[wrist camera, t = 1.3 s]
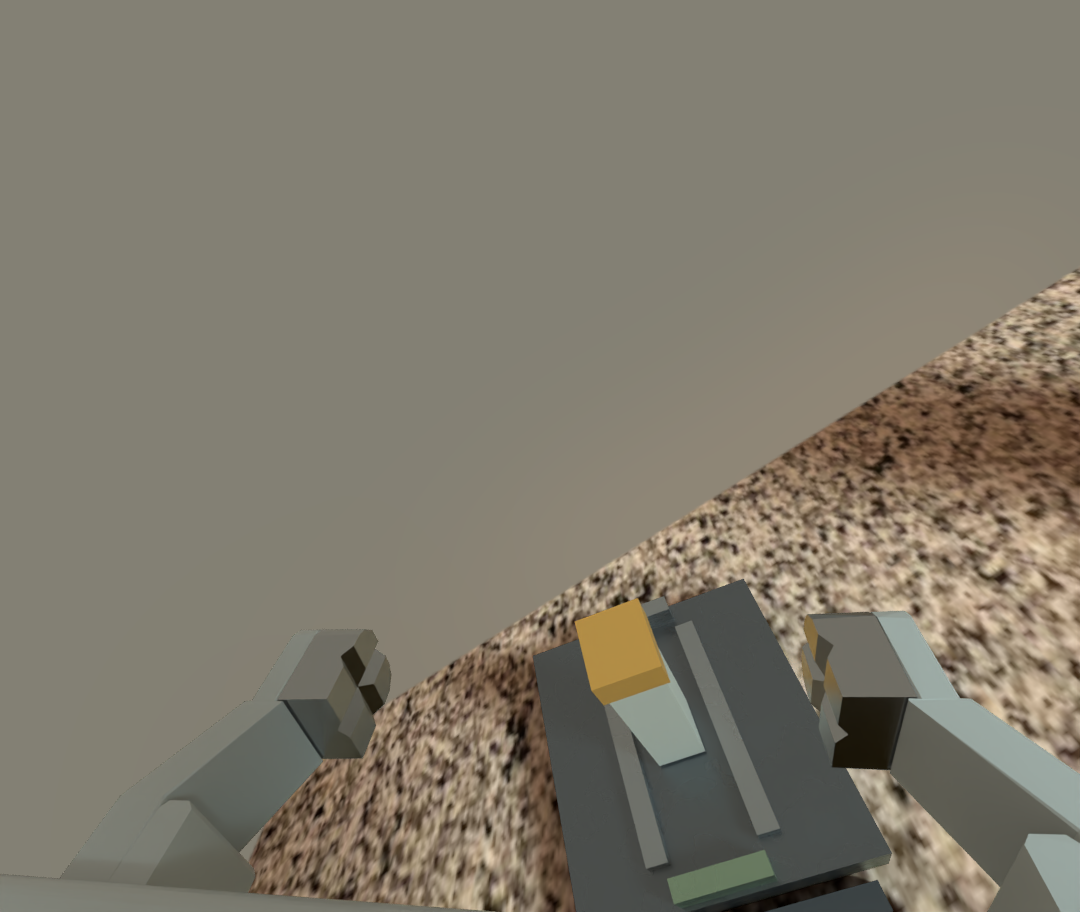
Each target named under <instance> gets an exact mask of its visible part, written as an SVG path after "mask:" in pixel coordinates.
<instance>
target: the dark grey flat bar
mask: <svg viewBox="0 0 1080 912" xmlns="http://www.w3.org/2000/svg"><path fill="white" fill-rule="evenodd" d="M766 912H893V910H892V908H891V906H890V904H889V902H888V900H887V898H886V896H885V894H884V892H883V890H882V888H881V886H880V884H879V882H878V880H876V881H872V882H869V883H865V884H861V885H858V886H854V887H851V888H847V889H844V890H840V891H837V892H833V893H830V894H826V895H823V896H819V897H815V898H812V899H808V900H805V901H801V902H798V903H794V904H791V905H787V906H784V907H780V908H776V909H773V910H769V911H766Z"/></svg>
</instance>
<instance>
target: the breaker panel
mask: <svg viewBox="0 0 1080 912" xmlns="http://www.w3.org/2000/svg"><path fill="white" fill-rule="evenodd" d="M641 606H642V608H643V610H644V612H645V613H646V615H647V618H648V621H649V623H650V626H651V629H652V632H653V635H654V637H655V640H656V643H657V646H658V648H659V650H660V651H661V653H662V655H663V657H664V659H665V661H666V663H667V665H668V666H669V668H670V670H671V672H672V674H673V676H674V678H675V680H676V681H677V683H678V685H679V687H680V689H681V691H682V693H683V695H684V696H685V698H686V700H687V703H688V706H689V708H690V711H691V714H692V716H693V719H694V722H695V725H696V727H697V730H698V733H699V735H700V738H701V741H702V743H703V746H704V749H705V751H704V752H701V753H698V754H695V755H692V756H689V757H686V758H683V759H680V760H677V761H674V762H671V763H668V764H665V765H662V766H659V765H658V764H657V762H656V761H655V760H654V758H653V757H652V756H651V755H650V753H649V752H648V751H647V750H646V748H645V747H644V746H643V745H642V743H641V742H640V741H639V740H638V738H637V737H636V736H635V735H634V733H633V732H632V731H631V730H630V728H629V727H628V726H627V725H626V723H625V722H624V721H623V720H622V718H621V717H620V716H619V715H618V713H617V712H616V711H615V710H614V708H613V707H612V706H611V705H610V703H609V704H607V705H603V704H602V703H601V702H600V700H599V699H598V698H597V697H596V696H595V694H594V693H593V692H592V691H591V687H590V683H589V679H588V675H587V670H586V666H585V662H584V658H583V654H582V650H581V646H580V642H579V639H578V640H575V641H573V642H570V643H567V644H564V645H562V646H559V647H556V648H553V649H551V650H548V651H545V652H543V653H540V654H537V655H534V656H533V660H534V666H535V672H536V678H537V684H538V689H539V695H540V701H541V707H542V713H543V719H544V725H545V731H546V737H547V742H548V748H549V754H550V760H551V766H552V772H553V778H554V784H555V790H556V796H557V801H558V807H559V813H560V819H561V825H562V831H563V837H564V843H565V849H566V854H567V860H568V866H569V872H570V878H571V884H572V890H573V896H574V902H575V908H576V912H721V911H724V910H728V909H731V908H735V907H738V906H742V905H745V904H749V903H752V902H756V901H759V900H763V899H766V898H770V897H773V896H777V895H780V894H784V893H787V892H791V891H794V890H798V889H801V888H805V887H808V886H812V885H815V884H819V883H822V882H826V881H829V880H833V879H836V878H840V877H843V876H847V875H850V874H854V873H857V872H861V871H864V870H868V869H871V868H875V867H878V866H882V865H885V864H889V861H890V858H891V854H892V853H891V851H890V849H889V847H888V845H887V843H886V841H885V840H884V838H883V836H882V834H881V832H880V830H879V828H878V827H877V825H876V823H875V821H874V819H873V817H872V816H871V814H870V812H869V810H868V808H867V806H866V804H865V803H864V801H863V799H862V797H861V795H860V793H859V791H858V790H857V788H856V786H855V784H854V782H853V780H852V779H851V777H850V775H849V773H848V771H847V769H846V768H833V767H831V764H830V761H829V758H828V755H827V752H826V749H825V746H824V743H823V740H822V737H821V734H820V731H819V720H820V719H819V717H818V716H817V714H816V712H815V710H814V708H813V706H812V705H811V703H810V701H809V699H808V697H807V695H806V693H805V692H804V690H803V688H802V686H801V684H800V682H799V680H798V679H797V677H796V675H795V673H794V671H793V669H792V668H791V666H790V664H789V662H788V660H787V658H786V656H785V655H784V653H783V651H782V649H781V647H780V645H779V643H778V642H777V640H776V638H775V636H774V634H773V632H772V631H771V629H770V627H769V625H768V623H767V621H766V619H765V618H764V616H763V614H762V612H761V610H760V608H759V606H758V605H757V603H756V601H755V599H754V597H753V595H752V594H751V592H750V590H749V588H748V586H747V584H746V582H745V581H744V579H742V580H739V581H736V582H733V583H731V584H728V585H725V586H722V587H720V588H717V589H714V590H712V591H709V592H706V593H703V594H701V595H698V596H695V597H692V598H690V599H687V600H684V601H682V602H679V603H676V604H673V605H671V606H668V604H667V602H666V600H665V598H664V596H663V597H661V598H658V599H655V600H652V601H650V602H647V603H644V604H642V605H641Z"/></svg>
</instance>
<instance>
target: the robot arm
mask: <svg viewBox="0 0 1080 912" xmlns="http://www.w3.org/2000/svg"><path fill="white" fill-rule="evenodd" d="M804 632H805V635H806V638H807V641H808V643H806V644H805V645H804V646H803V647H802V660H801V661H802V671H803V678H804V682H805V687H806V691H807V694H808V697H809V700H810V703H811V704H812V705H813V706H814V707H815V708H816V709H818V710H819V711H820V720H819V731H820V734H821V737H822V740H823V743H824V746H825V749H826V752H827V755H828V758H829V761H830V764H831V767H833V768H855V769H877V770H890V774H891V775H892V776H893V777H894V778H895V779H896V780H897V781H898V782H899V783H900V784H901V785H902V786H903V787H904V788H905V789H906V790H907V791H908V792H909V793H910V794H911V795H912V796H913V797H914V798H915V799H916V801H917V802H918V803H919V804H920V805H921V806H922V807H923V808H924V809H925V810H926V811H927V812H928V813H929V814H930V815H931V816H932V817H933V818H934V819H935V820H936V821H937V822H938V823H939V824H940V825H941V826H942V827H943V828H944V829H945V830H946V831H947V833H948V834H949V835H950V836H951V837H952V838H953V839H954V840H955V841H956V842H957V843H958V844H959V845H960V846H961V847H962V848H963V849H964V850H965V851H966V852H967V853H968V854H969V855H970V856H971V857H972V858H973V859H974V860H975V861H976V862H977V863H978V864H979V866H980V867H981V868H982V869H983V870H984V871H985V872H986V873H987V874H988V875H989V876H990V877H991V878H992V879H993V880H994V881H995V882H996V883H997V884H998V885H999V886H1000V889H999V891H998V893H997V895H996V896H995V898H994V900H993V902H992V904H991V906H990V908H989V910H988V911H987V912H1080V774H1079V773H1077V772H1076V771H1074V770H1073V769H1072V768H1070V767H1069V766H1067V765H1066V764H1064V763H1063V762H1061V761H1060V760H1059V759H1057V758H1056V757H1054V756H1053V755H1051V754H1050V753H1048V752H1047V751H1046V750H1044V749H1043V748H1041V747H1040V746H1038V745H1037V744H1036V743H1034V742H1033V741H1031V740H1030V739H1028V738H1027V737H1025V736H1024V735H1023V734H1021V733H1020V732H1018V731H1017V730H1015V729H1014V728H1012V727H1011V726H1010V725H1008V724H1007V723H1005V722H1004V721H1002V720H1001V719H1000V718H998V717H997V716H995V715H994V714H992V713H991V712H989V711H988V710H987V709H985V708H984V707H982V706H981V705H979V704H978V703H976V702H975V701H974V700H972V699H966V698H959V696H958V694H957V693H956V691H955V689H954V688H953V686H952V684H951V683H950V681H949V679H948V678H947V676H946V674H945V672H944V671H943V669H942V667H941V666H940V664H939V662H938V661H937V659H936V657H935V656H934V654H933V652H932V651H931V649H930V647H929V646H928V644H927V642H926V640H925V639H924V637H923V635H922V634H921V632H920V630H919V629H918V627H917V625H916V624H915V622H914V620H913V619H912V617H911V616H910V615H909V614H908V613H907V612H905V611H888V612H871V613H869V612H853V613H830V614H807V616H806V618H805V621H804ZM377 643H378V640H377V638H376V636H375V634H374V633H373V631H372V630H366V629H362V630H361V629H359V630H358V629H347V630H346V629H345V630H344V629H340V630H338V629H336V630H300V631H299V632H297V633H296V634H294V635H293V636H292V638H291V640H290V641H289V643H288V644H287V646H286V648H285V649H284V651H283V652H282V654H281V655H280V657H279V658H278V660H277V662H276V663H275V665H274V666H273V668H272V669H271V671H270V673H269V674H268V676H267V678H266V679H265V681H264V682H263V684H262V685H261V687H260V688H259V690H258V692H257V693H256V695H255V696H254V698H253V699H252V701H244V702H243V703H242V704H240V705H239V706H238V707H236V708H235V709H234V710H232V711H231V712H230V713H229V714H227V715H226V716H225V717H223V718H222V719H221V720H219V721H218V722H217V723H215V724H214V725H213V726H211V727H210V728H209V729H207V730H206V731H205V732H204V733H202V734H201V735H199V736H198V737H197V738H196V739H194V740H193V741H192V742H190V743H189V744H188V745H186V746H185V747H184V748H182V749H181V750H180V751H178V752H177V753H176V754H174V755H173V756H172V757H171V758H169V759H168V760H167V761H165V762H164V763H163V764H161V765H160V766H159V767H157V768H156V769H155V770H153V771H152V772H151V773H149V774H148V775H147V776H145V777H144V778H143V779H141V780H140V781H139V782H138V783H136V784H135V785H134V786H132V787H131V788H130V789H128V790H127V791H126V792H124V793H123V794H122V795H121V796H120V797H119V798H118V799H117V801H116V802H115V804H114V805H113V806H112V808H111V809H110V810H109V812H108V813H107V814H106V816H105V817H104V818H103V820H102V821H101V822H100V824H99V825H98V827H97V828H96V829H95V831H94V832H93V833H92V835H91V836H90V838H89V839H88V840H87V842H86V843H85V844H84V846H83V847H82V849H81V850H80V851H79V852H78V854H77V855H76V857H75V858H74V859H73V861H72V862H71V863H70V865H69V866H68V867H67V869H66V870H65V871H64V873H63V874H62V875H61V877H60V878H46V877H32V876H20V875H6V874H0V912H493V911H480V910H467V909H454V908H440V907H427V906H414V905H401V904H388V903H375V902H362V901H348V900H335V899H322V898H309V897H296V896H283V895H270V894H256V893H248V891H249V889H250V887H251V885H252V883H253V881H254V879H255V872H254V868H253V867H252V866H251V865H250V864H249V863H248V862H247V861H246V860H245V859H244V858H243V857H242V856H241V854H240V853H239V852H240V851H241V850H242V849H243V848H244V847H245V846H246V845H247V843H248V842H249V841H250V840H251V839H252V838H253V837H254V836H255V835H256V834H257V833H258V832H259V830H260V829H261V828H262V827H263V826H264V825H265V824H266V823H267V822H268V821H269V820H270V818H271V817H272V816H273V815H274V814H275V813H276V812H277V811H278V810H279V809H280V808H281V806H282V805H283V804H284V803H285V802H286V801H287V800H288V799H289V798H290V797H291V796H292V794H293V793H294V792H295V791H296V790H297V789H298V788H299V787H300V786H301V785H302V784H303V783H304V781H305V780H306V779H307V778H308V777H309V776H310V775H311V774H312V773H313V772H314V771H315V769H316V768H317V767H318V766H319V765H320V764H321V763H322V762H323V760H322V759H351V758H363V756H364V754H365V751H366V749H367V746H368V744H369V741H370V739H371V737H372V734H373V732H374V729H375V727H376V724H375V720H374V717H373V714H374V713H375V712H377V711H378V710H379V709H380V708H381V707H382V706H383V705H384V704H385V701H386V699H387V696H388V693H389V690H390V682H391V671H390V665H389V662H388V660H387V658H386V656H385V655H383V654H382V653H380V652H379V651H378V650H376V649H375V647H376V645H377Z"/></svg>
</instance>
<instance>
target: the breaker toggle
mask: <svg viewBox="0 0 1080 912" xmlns="http://www.w3.org/2000/svg"><path fill="white" fill-rule="evenodd" d="M575 625H576V629H577V633H578V638H579V642H580V646H581V650H582V654H583V658H584V662H585V666H586V670H587V675H588V679H589V683H590V687H591V691H592V692H593V693H594V694H595V696H596V697H597V698H598V699H599V700H600V702H601V703H602V704H603V705H607V704H609V703H610V705H611V706H612V707H613V708H614V710H615V711H616V712H617V713H618V715H619V716H620V717H621V718H622V720H623V721H624V722H625V723H626V725H627V726H628V727H629V728H630V730H631V731H632V732H633V733H634V735H635V736H636V737H637V738H638V740H639V741H640V742H641V743H642V745H643V746H644V747H645V748H646V750H647V751H648V752H649V753H650V755H651V756H652V757H653V758H654V760H655V761H656V762H657V764H658V765H659V766H662V765H665V764H668V763H671V762H674V761H677V760H680V759H683V758H686V757H689V756H692V755H695V754H698V753H701V752H704V751H705V749H704V746H703V743H702V741H701V738H700V735H699V733H698V730H697V727H696V725H695V722H694V719H693V716H692V714H691V711H690V708H689V706H688V703H687V700H686V698H685V696H684V695H683V693H682V691H681V689H680V687H679V685H678V683H677V681H676V680H675V678H674V676H673V674H672V672H671V670H670V668H669V666H668V665H667V663H666V661H665V659H664V657H663V655H662V653H661V651H660V650H659V648H658V646H657V643H656V640H655V637H654V635H653V632H652V629H651V626H650V623H649V621H648V618H647V615H646V613H645V612H644V610H643V608H642V606H641V604H640V602H639V600H638V598H637V599H634V600H631V601H629V602H626V603H623V604H621V605H618V606H615V607H613V608H610V609H607V610H604V611H602V612H599V613H596V614H594V615H591V616H588V617H586V618H583V619H580V620H578V621H575Z"/></svg>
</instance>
